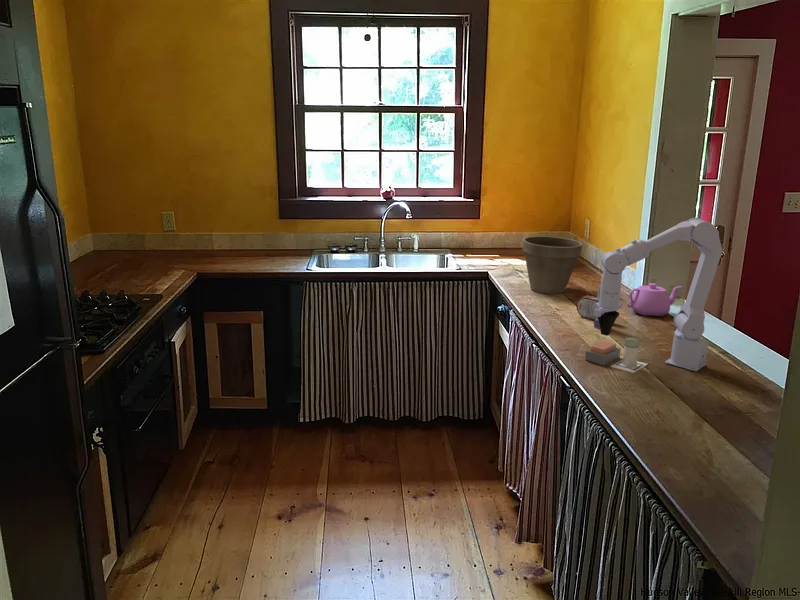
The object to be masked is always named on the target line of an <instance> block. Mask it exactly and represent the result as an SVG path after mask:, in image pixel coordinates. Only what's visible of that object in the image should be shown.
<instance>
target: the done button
mask: <svg viewBox="0 0 800 600" xmlns="http://www.w3.org/2000/svg"><path fill="white" fill-rule="evenodd" d="M616 347H617V343H614V342H611V341H607V340H603V341H600V342H598V343H596V344H593V345H592V346H591V348H590V349H591V352H595V353H598V354H602V355H605V354H607V353H609V352H611V351H613V350H615V349H616Z"/></svg>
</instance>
